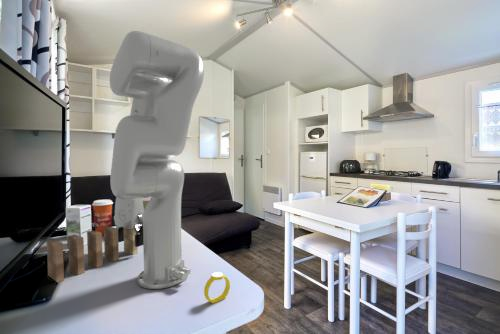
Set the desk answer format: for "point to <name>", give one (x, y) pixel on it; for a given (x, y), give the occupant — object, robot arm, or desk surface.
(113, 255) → the tile
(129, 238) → the tile
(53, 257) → the wooden domino block
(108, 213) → the paper cup
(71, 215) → the syrup box
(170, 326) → the desk surface
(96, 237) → the tile
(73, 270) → the tile
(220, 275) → the gold ring
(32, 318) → the desk surface
